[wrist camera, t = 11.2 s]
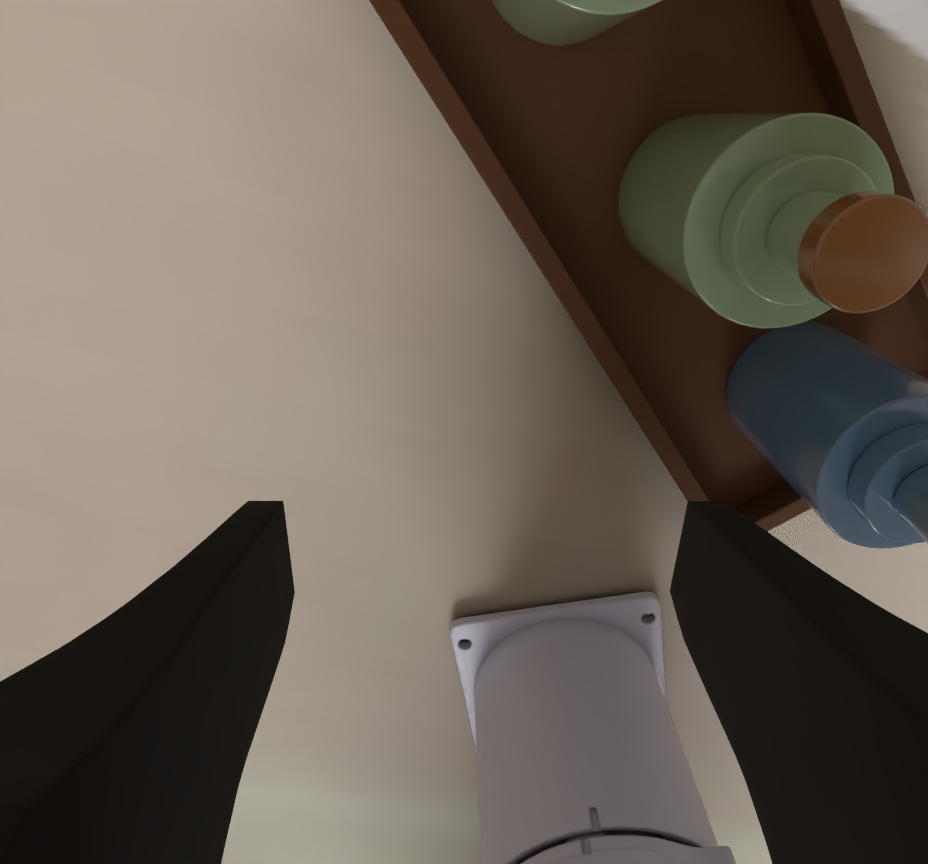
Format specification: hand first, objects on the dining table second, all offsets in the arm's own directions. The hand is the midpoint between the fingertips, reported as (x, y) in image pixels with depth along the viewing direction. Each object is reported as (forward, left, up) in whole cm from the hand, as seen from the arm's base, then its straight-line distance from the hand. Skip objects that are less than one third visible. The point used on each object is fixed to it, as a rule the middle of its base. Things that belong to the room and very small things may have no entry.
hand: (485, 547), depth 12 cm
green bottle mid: (+4, -7, -10) cm, 13 cm away
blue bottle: (-2, -10, -10) cm, 14 cm away
